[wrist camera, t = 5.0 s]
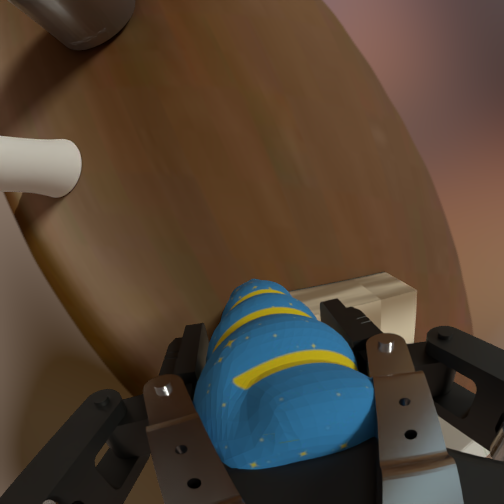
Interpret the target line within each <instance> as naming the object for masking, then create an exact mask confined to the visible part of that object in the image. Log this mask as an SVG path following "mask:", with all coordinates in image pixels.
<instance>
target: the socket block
mask: <svg viewBox="0 0 504 504" xmlns="http://www.w3.org/2000/svg"><path fill="white" fill-rule="evenodd" d="M288 292H289V293H290V295H291V296H292V297H293V298H295V299H297V300H299V301H301V302H302V303H303V304H305V305H306V306H307V307H308V308H309V309H310V310H311V311H312V313H313V314H314V315H315V317H316V318H317V320H318V321H321V318H320V302H323V301H327V300H332V299H336V298H338V299H339V300H340V301H341V302H342V303H343V304H344V306H345V307H346V308H347V307H354V308H356V309H359V310H361V311H362V312H363V313H364V314H365V315H366V317H368V318H369V319H370V320H371V321H372V322H373V323H374V324H375V325H376V326H377V327H378V328H379V329H380V330H381V331H382V332H383V333H393V334H397V335H399V336H401V337H403V338H404V339H405V341H406V344H410V343H413V342H414V332H415V319H416V302H417V290H416V289H414V288H412V287H411V286H409V285H407V284H405V283H404V282H402V281H400V280H398V279H397V278H395V277H393V276H391V275H389V274H388V273H386V272H381V273H377V274H372V275H367V276H363V277H358V278H353V279H349V280H344V281H339V282H334V283H329V284H324V285H319V286H314V287H309V288H304V289H298V290H293V291H288Z"/></svg>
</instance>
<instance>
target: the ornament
mask: <svg viewBox="0 0 504 504" xmlns="http://www.w3.org/2000/svg"><path fill="white" fill-rule="evenodd" d="M193 405H194V408H195V410H196V412H198V414H199V417H200V419H201V421H202V423H203V425H204V427H205V429H206V432H207V434H208V436H209V438H210V440H211V442H212V444H213V446H214V448H215V450H216V452H217V454H218V456H219V458H220V460H221V462H223V463H224V464H226V465H227V466H229V467H231V468H238V469H264V468H271V467H277V466H282V465H286V464H290V463H294V462H299V461H304V460H308V459H313V458H317V457H321V456H325V455H329V454H333V453H337V452H340V451H343V450H346V449H348V448H351V447H353V446H356V445H358V444H360V443H362V442H364V441H366V440H368V439H370V438H372V437H374V436H375V434H374V425H375V393H374V385H373V381H372V379H371V378H370V377H368V376H366V375H364V374H362V373H360V372H359V371H358V365H357V361H356V358H355V355H354V354H353V352H352V350H351V348H350V346H349V345H348V343H347V342H346V340H345V339H344V338H343V337H342V336H341V335H340V334H339V333H338V332H336V331H335V330H334V329H333V328H331V327H330V326H328V325H327V324H325V323H323V322H321V321H318V320H317V318H316V317H315V315H314V314H313V313H312V311H311V310H310V309H309V308H308V307H307V306H306V305H305V304H303V303H302V302H301V301H299V300H297V299H295V298H293V297H292V296H291V295H290V293H289V292H288V291H287V290H286V289H285V288H284V287H282V286H281V285H279V284H277V283H275V282H272V281H266V280H258V279H251V280H249V281H248V282H246V283H244V284H242V285H240V286H238V287H237V288H236V289H235V290H234V291H233V292H232V294H231V296H230V299H229V301H228V303H227V304H226V306H225V309H224V311H223V314H222V317H221V322H220V323H219V325H218V326H217V328H216V329H215V331H214V333H213V335H212V337H211V340H210V342H209V346H208V351H207V356H206V364H205V366H204V368H203V370H202V372H201V375H200V377H199V379H198V382H197V385H196V388H195V393H194V399H193Z"/></svg>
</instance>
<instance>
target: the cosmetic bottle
mask: <svg viewBox="0 0 504 504" xmlns="http://www.w3.org/2000/svg"><path fill="white" fill-rule="evenodd" d="M81 165H82V163H81V155H80V152H79V150H78V148H77V147H76V145H75V144H74V143H73V142H71V141H69V140H67V139H55V140H40V139H27V138H17V137H7V136H0V191H2V192H27V193H36V194H41V195H46V196H50V197H54V198H58V197H62V196H64V195H66V194H68V193H69V192H70V191H71V190H72V189H73V188H74V186H75V185H76V183H77V181H78V179H79V176H80V173H81Z"/></svg>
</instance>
